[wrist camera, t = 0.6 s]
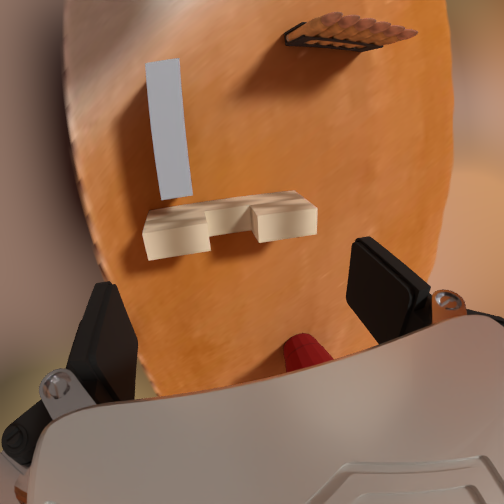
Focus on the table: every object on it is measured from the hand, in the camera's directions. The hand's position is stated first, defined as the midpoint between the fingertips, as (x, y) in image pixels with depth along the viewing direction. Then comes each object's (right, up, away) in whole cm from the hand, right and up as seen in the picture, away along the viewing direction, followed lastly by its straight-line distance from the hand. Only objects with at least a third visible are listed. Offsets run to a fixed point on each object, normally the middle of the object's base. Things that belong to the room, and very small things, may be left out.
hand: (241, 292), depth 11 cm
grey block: (-9, +15, +19) cm, 26 cm away
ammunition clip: (+9, +27, +17) cm, 34 cm away
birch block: (-3, +7, +25) cm, 26 cm away
